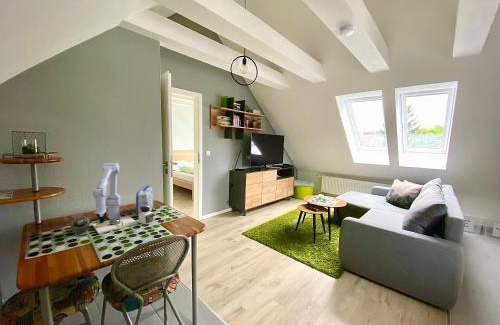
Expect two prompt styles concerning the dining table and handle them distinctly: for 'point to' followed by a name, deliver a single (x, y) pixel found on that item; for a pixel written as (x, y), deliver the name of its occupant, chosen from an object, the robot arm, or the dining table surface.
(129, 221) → the board
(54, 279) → the dining table surface
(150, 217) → the medicine bottle
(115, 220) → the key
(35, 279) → the dining table surface
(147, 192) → the lunch box
